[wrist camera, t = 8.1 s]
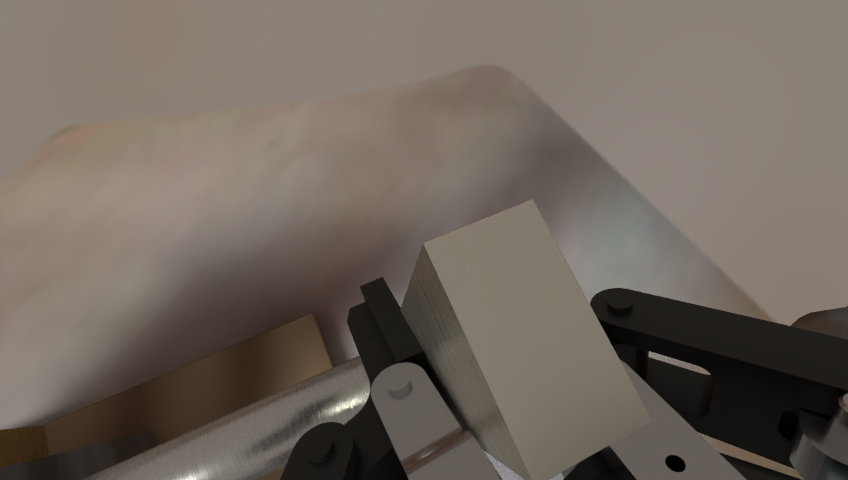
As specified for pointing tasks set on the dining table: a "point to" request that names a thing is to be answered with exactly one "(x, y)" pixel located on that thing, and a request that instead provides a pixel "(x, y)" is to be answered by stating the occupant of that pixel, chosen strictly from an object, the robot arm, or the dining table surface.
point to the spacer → (22, 445)
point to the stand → (178, 403)
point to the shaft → (453, 367)
